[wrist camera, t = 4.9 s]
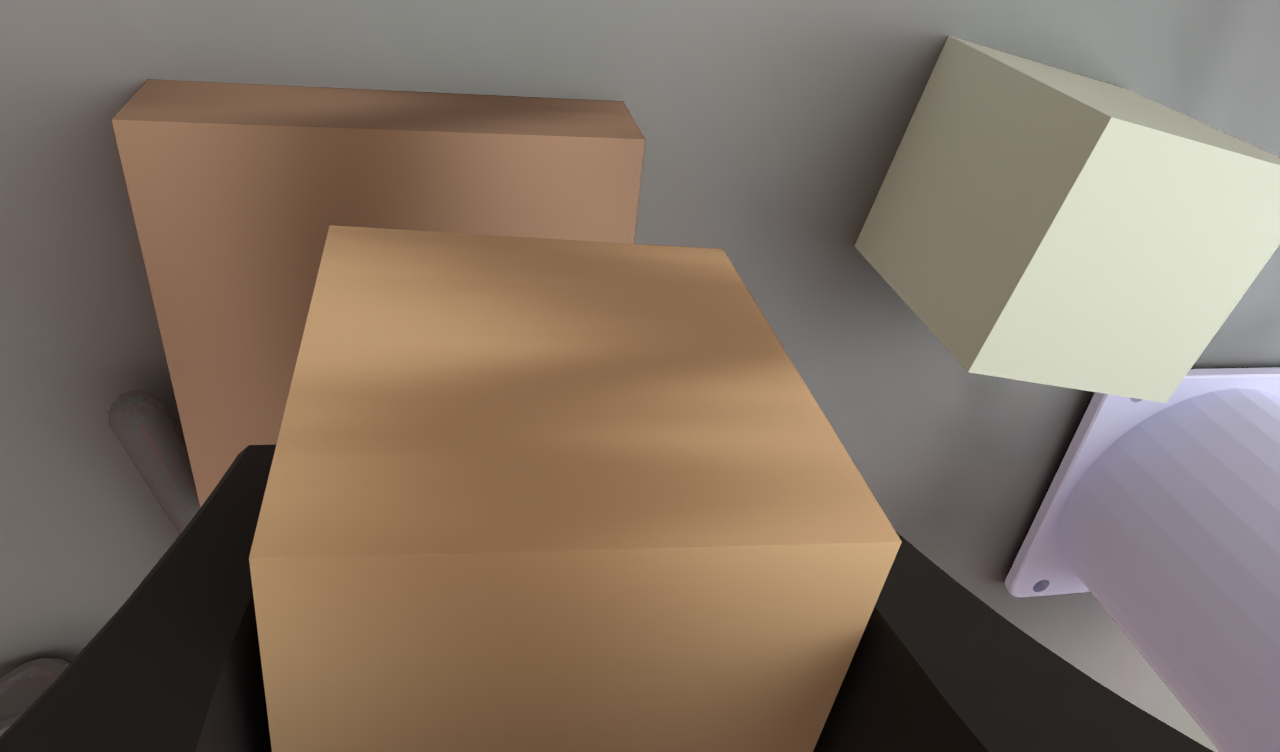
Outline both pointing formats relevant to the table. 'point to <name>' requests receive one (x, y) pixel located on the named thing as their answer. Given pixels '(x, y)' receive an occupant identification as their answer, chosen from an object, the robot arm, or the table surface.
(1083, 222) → the sage block
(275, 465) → the oak block
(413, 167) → the tan flat block
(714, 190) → the table surface
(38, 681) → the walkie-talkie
